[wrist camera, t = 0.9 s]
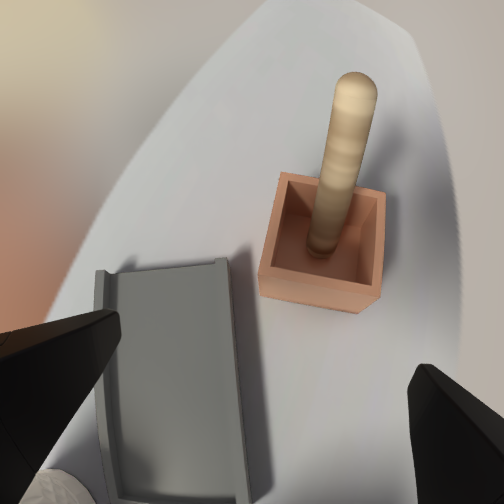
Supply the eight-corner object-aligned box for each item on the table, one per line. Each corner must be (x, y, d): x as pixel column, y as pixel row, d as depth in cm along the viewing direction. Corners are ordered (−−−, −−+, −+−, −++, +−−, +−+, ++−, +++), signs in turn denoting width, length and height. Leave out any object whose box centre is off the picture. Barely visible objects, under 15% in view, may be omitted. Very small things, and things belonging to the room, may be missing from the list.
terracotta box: (357, 314, 21) (380, 297, 17) (259, 295, 22) (257, 274, 18) (366, 226, 24) (385, 192, 19) (279, 209, 25) (280, 171, 20)
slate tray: (252, 504, 16) (250, 517, 14) (122, 496, 16) (110, 505, 14) (230, 268, 23) (226, 257, 21) (108, 279, 23) (95, 270, 21)
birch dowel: (331, 266, 22) (388, 149, 11) (302, 260, 22) (333, 137, 11) (339, 198, 24) (380, 70, 13) (313, 193, 25) (338, 60, 13)
